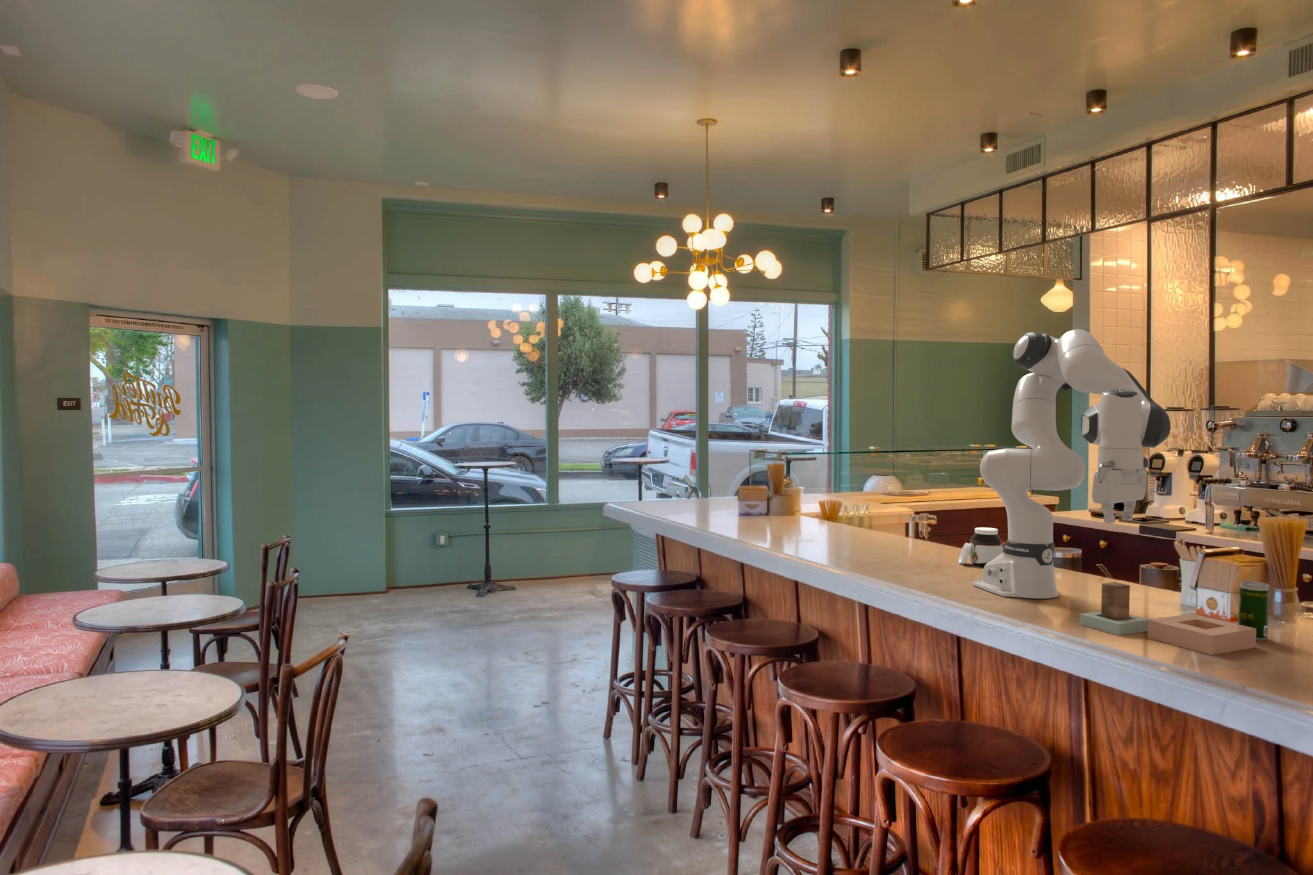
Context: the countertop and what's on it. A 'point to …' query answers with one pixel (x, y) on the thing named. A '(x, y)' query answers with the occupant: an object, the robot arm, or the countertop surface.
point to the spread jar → (982, 547)
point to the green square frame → (1114, 623)
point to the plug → (1115, 601)
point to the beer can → (1254, 607)
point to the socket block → (1202, 634)
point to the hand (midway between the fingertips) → (1118, 521)
